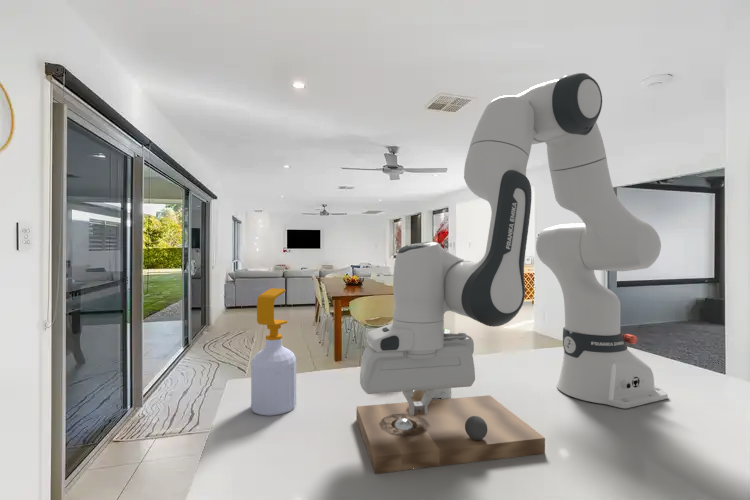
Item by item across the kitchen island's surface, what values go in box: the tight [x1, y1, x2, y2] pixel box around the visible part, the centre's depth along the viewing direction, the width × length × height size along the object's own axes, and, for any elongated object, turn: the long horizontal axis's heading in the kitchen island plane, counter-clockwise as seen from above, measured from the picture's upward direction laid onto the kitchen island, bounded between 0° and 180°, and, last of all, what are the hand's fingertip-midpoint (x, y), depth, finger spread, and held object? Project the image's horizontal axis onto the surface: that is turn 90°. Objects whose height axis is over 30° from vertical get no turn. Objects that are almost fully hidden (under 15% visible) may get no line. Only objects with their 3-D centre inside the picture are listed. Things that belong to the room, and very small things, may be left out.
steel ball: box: [394, 418, 414, 431], centre depth 66 cm, size 4×4×4 cm
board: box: [356, 394, 546, 475], centre depth 67 cm, size 28×18×2 cm, turn 101°
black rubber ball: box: [465, 416, 487, 440], centre depth 61 cm, size 4×4×4 cm
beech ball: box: [410, 390, 424, 402], centre depth 74 cm, size 4×4×4 cm
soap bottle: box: [250, 287, 297, 416], centre depth 79 cm, size 9×9×25 cm
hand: (418, 413), depth 66 cm, fingers closed
